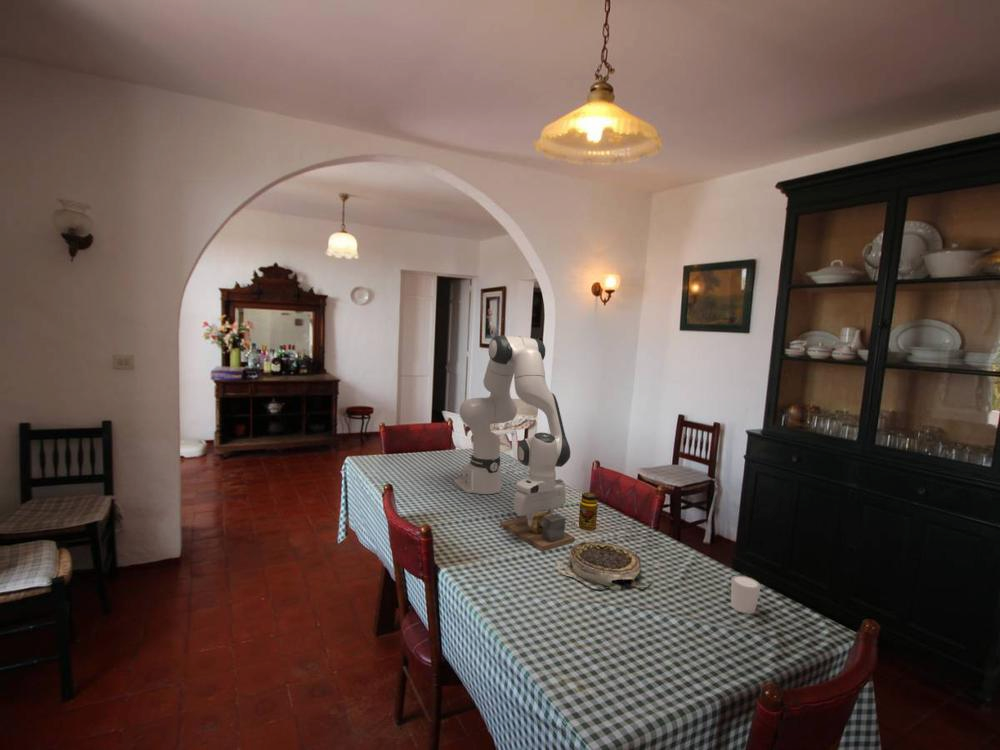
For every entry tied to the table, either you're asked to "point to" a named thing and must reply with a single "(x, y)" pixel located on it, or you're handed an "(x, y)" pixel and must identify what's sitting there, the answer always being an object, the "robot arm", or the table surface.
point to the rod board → (545, 539)
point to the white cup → (744, 594)
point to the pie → (603, 563)
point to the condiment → (588, 512)
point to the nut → (538, 521)
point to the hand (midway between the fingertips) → (539, 523)
